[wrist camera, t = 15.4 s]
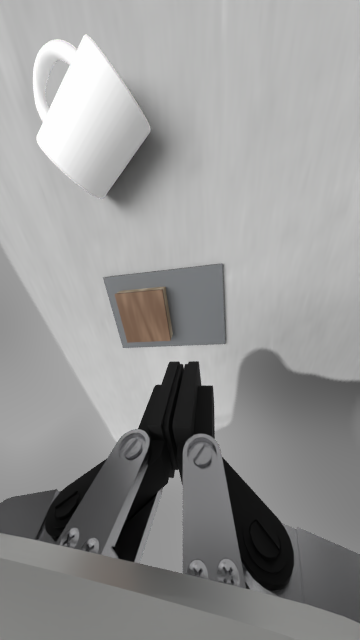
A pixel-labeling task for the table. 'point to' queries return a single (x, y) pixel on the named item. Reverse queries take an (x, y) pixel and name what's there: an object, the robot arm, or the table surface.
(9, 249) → the table surface
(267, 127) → the table surface
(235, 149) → the table surface
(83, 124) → the mug
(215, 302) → the mat
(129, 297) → the tile
